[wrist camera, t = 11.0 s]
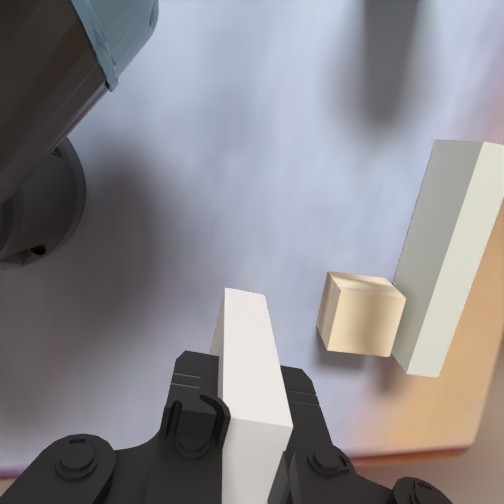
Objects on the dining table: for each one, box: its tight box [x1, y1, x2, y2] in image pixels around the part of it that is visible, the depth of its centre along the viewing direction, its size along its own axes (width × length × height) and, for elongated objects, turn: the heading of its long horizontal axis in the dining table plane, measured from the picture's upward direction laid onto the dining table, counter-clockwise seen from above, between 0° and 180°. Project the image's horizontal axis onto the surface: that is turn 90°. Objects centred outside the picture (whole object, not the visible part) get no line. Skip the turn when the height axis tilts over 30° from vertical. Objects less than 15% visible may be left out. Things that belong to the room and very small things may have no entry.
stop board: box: [391, 139, 504, 378], centre depth 34 cm, size 3×20×7 cm, turn 170°
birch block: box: [316, 271, 406, 357], centre depth 37 cm, size 6×6×5 cm
